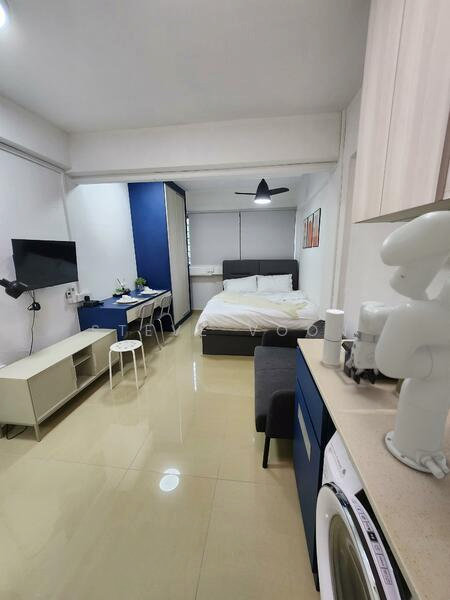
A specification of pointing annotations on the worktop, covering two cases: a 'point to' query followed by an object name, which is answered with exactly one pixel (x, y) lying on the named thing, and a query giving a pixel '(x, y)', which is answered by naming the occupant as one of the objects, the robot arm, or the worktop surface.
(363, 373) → the lever
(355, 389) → the worktop surface
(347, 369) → the bracket
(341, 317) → the cylindrical container
